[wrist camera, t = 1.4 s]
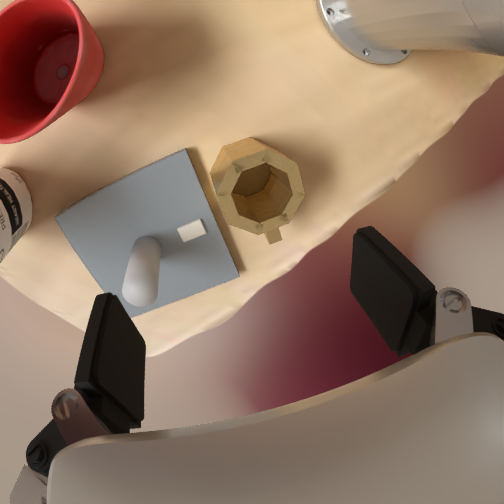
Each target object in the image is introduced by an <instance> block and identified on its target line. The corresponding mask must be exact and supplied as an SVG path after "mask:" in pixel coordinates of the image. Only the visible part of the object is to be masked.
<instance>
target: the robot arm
mask: <svg viewBox="0 0 504 504" xmlns="http://www.w3.org/2000/svg"><path fill="white" fill-rule="evenodd" d="M316 2H317V8H318V11H319V14H320V17H321V19H322V21H323V23H324V25H325V27H326V28H327V30H328V31H329V33H330V34H331V36H332V37H333V38H334V39H335V40H336V41H337V42H338V43H339V44H340V45H341V46H342V47H343V48H344V49H345V50H347V51H348V52H349V53H351V54H352V55H354V56H356V57H357V58H359V59H362V60H364V61H366V62H370V63H374V64H394V63H397V62H400V61H401V60H403V59H405V58H406V57H407V56H408V55H409V54H410V53H411V51H412V50H454V51H467V52H477V53H485V54H493V55H499V56H504V0H316ZM352 252H353V253H352V267H351V280H350V289H351V292H352V294H353V295H354V297H355V298H356V300H357V301H358V302H359V304H360V305H361V307H362V308H363V310H364V311H365V312H366V314H367V315H368V317H369V318H370V320H371V321H372V323H373V324H374V325H375V327H376V328H377V330H378V331H379V333H380V334H381V335H382V337H383V339H384V340H385V342H386V343H387V345H388V346H389V348H390V349H391V351H393V352H395V351H396V353H397V354H398V356H399V357H401V356H403V355H405V354H407V353H409V352H411V354H412V356H410V357H408V358H406V359H404V360H402V361H400V362H397V363H395V364H393V365H391V366H389V367H386V368H384V369H382V370H380V371H378V372H375V373H373V374H371V375H369V376H366V377H364V378H361V379H359V380H357V381H354V382H352V383H349V384H346V385H344V386H341V387H339V388H336V389H333V390H330V391H328V392H325V393H322V394H320V395H317V396H313V397H310V398H307V399H305V400H301V401H298V402H295V403H291V404H288V405H285V406H281V407H278V408H274V409H270V410H267V411H263V412H259V413H255V414H251V415H246V416H242V417H238V418H233V419H229V420H224V421H218V422H213V423H208V424H202V425H196V426H189V427H183V428H175V429H167V430H158V431H149V432H138V433H130V429H134V428H141V421H142V420H143V419H144V379H145V354H146V345H145V341H144V339H143V337H142V336H141V334H140V333H139V331H138V330H137V328H136V327H135V325H134V323H133V322H132V320H131V318H130V317H129V315H128V313H127V312H126V310H125V308H124V307H123V305H122V303H121V302H120V300H119V298H118V297H117V295H113V294H112V293H111V292H108V293H104V294H99V295H97V296H96V298H95V301H94V304H93V308H92V311H91V315H90V318H89V322H88V325H87V329H86V333H85V336H84V340H83V345H82V349H81V353H80V357H79V361H78V366H77V371H76V376H75V381H74V383H75V387H74V389H71V388H67V389H64V390H62V391H61V392H59V393H58V394H57V395H56V397H55V398H54V400H53V402H52V406H51V413H52V416H53V419H52V421H51V422H50V423H49V424H48V425H47V426H46V427H45V428H44V429H43V430H42V431H41V432H40V433H39V434H38V435H37V436H36V437H35V438H34V439H33V440H32V441H31V442H30V444H29V445H28V447H27V450H26V459H27V463H28V466H27V465H25V464H24V467H23V468H22V471H21V472H20V475H19V477H18V479H17V481H16V483H15V485H14V488H13V490H12V492H11V495H10V504H504V314H502V313H498V312H494V311H489V310H485V309H481V308H477V307H473V306H471V303H470V300H469V298H468V297H467V295H466V294H465V293H463V292H462V291H460V290H459V289H456V288H451V287H450V288H449V287H447V288H443V289H442V290H440V291H439V292H437V291H436V290H435V286H434V285H433V284H432V283H431V282H430V281H429V280H428V278H426V277H425V275H424V274H423V273H422V272H421V271H420V270H419V269H418V268H416V266H415V265H413V264H412V263H411V262H410V261H409V260H408V259H407V258H406V257H405V256H404V255H403V254H402V253H401V252H400V251H399V250H398V249H397V248H396V247H395V246H394V245H392V244H391V243H390V242H389V241H388V240H387V239H386V238H385V237H384V236H382V235H381V234H380V233H379V232H378V231H377V230H376V229H375V228H374V227H372V226H368V227H364V228H360V229H358V230H357V232H356V234H354V236H353V251H352Z"/></svg>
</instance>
